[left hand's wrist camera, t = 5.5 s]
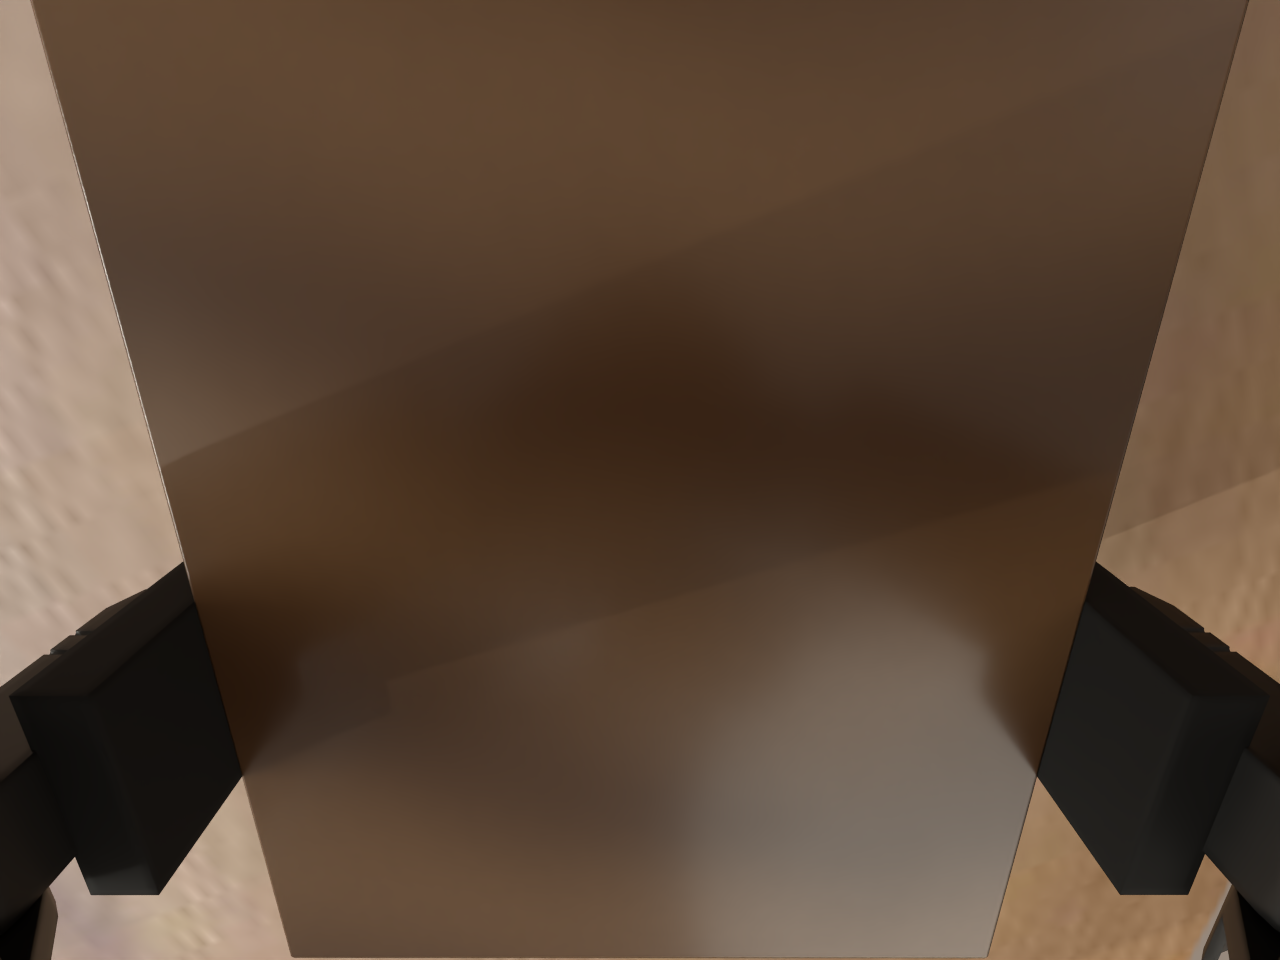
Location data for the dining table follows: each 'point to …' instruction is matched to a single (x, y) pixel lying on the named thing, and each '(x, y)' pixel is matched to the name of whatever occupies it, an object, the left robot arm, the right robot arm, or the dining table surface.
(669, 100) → the cabinet
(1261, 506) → the dining table surface
